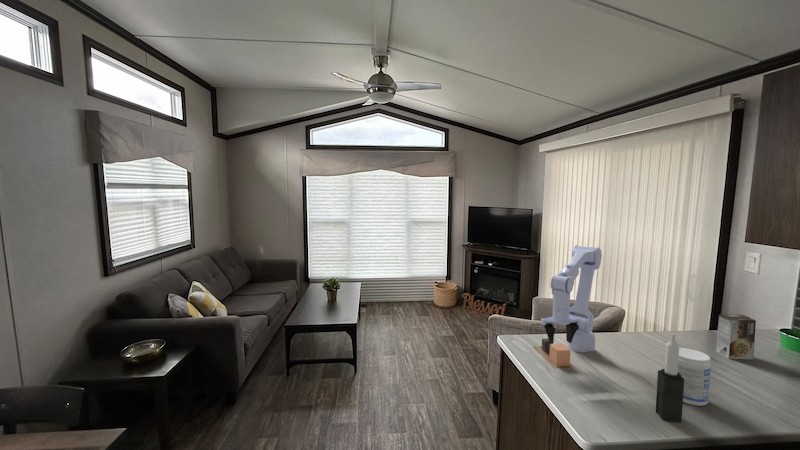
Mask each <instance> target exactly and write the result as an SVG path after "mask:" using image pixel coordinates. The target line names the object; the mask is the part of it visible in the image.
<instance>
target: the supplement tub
mask: <svg viewBox="0 0 800 450" xmlns="http://www.w3.org/2000/svg"><path fill="white" fill-rule="evenodd" d="M711 363H712V362H711V357H710V355H708V354H706V353H704V352H702V351H699V350H695V349H692V348H686V347H679V359H678V372H679V374H681V376H682V377H683V378H684V393H683V404H684V403H685V404H688V405H691V406H697V407H701V406H706V405H707V404H709V399H710V397H709V396H710V384H711V382H710V381H711V370H712V369H711V368H712V367H711Z"/></svg>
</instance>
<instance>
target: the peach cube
mask: <svg viewBox="0 0 800 450" xmlns="http://www.w3.org/2000/svg"><path fill="white" fill-rule="evenodd" d="M549 360H550V361H551V362H553V363H554V364H555V365H556V366H570V363H571V349H569V348H568V346H566V345H565V344H563V343H560V344H559V343H557V344H554V343H553V344H551V345H550V357H549Z"/></svg>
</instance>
